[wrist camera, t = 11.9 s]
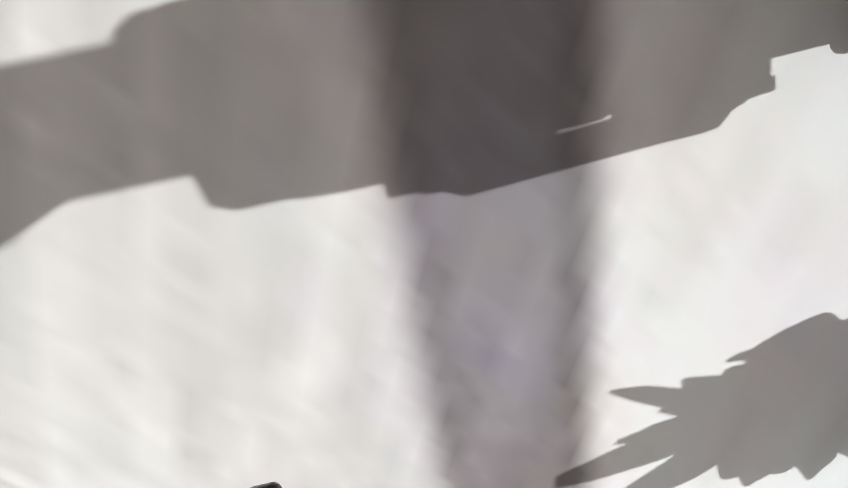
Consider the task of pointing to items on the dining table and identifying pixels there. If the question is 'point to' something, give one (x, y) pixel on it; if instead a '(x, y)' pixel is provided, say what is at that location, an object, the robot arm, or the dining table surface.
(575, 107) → the dining table surface
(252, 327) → the dining table surface
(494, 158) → the dining table surface
